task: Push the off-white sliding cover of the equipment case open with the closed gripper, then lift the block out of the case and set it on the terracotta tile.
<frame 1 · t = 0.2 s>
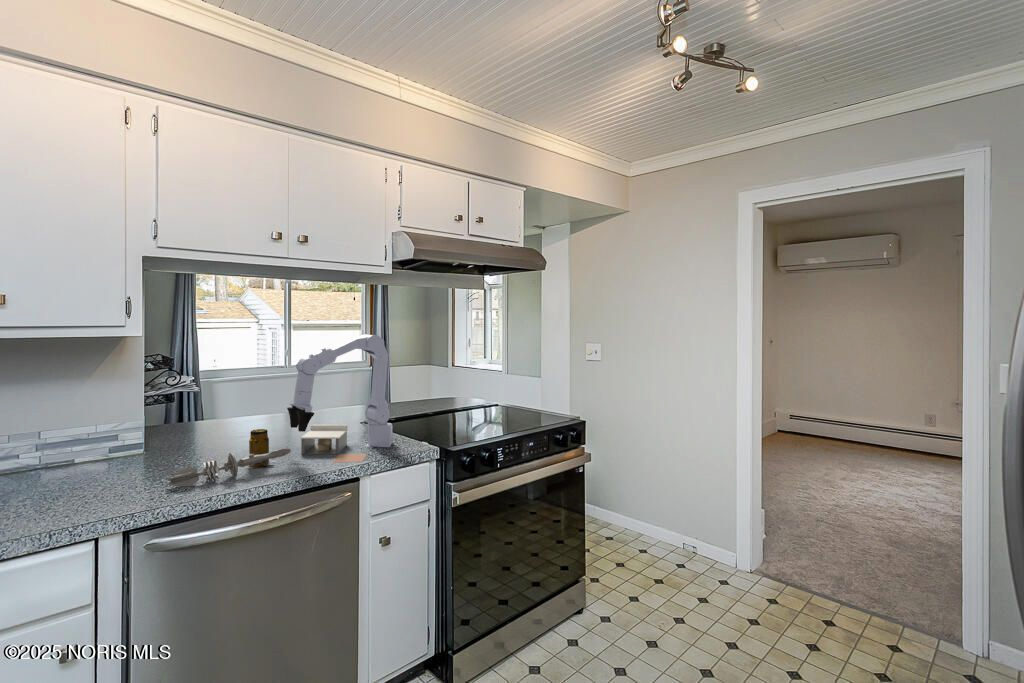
hand: (297, 429, 183), 11 cm above the worktop, fingers open, 7 cm apart
condiment: (262, 465, 175), on the worktop
case: (324, 450, 194), on the worktop
block: (324, 449, 194), point 1 cm above the worktop, touching case
cover: (324, 431, 194), point 7 cm above the worktop, slide at 0.0 cm
tile: (350, 459, 183), on the worktop
spaceship: (233, 478, 162), on the worktop
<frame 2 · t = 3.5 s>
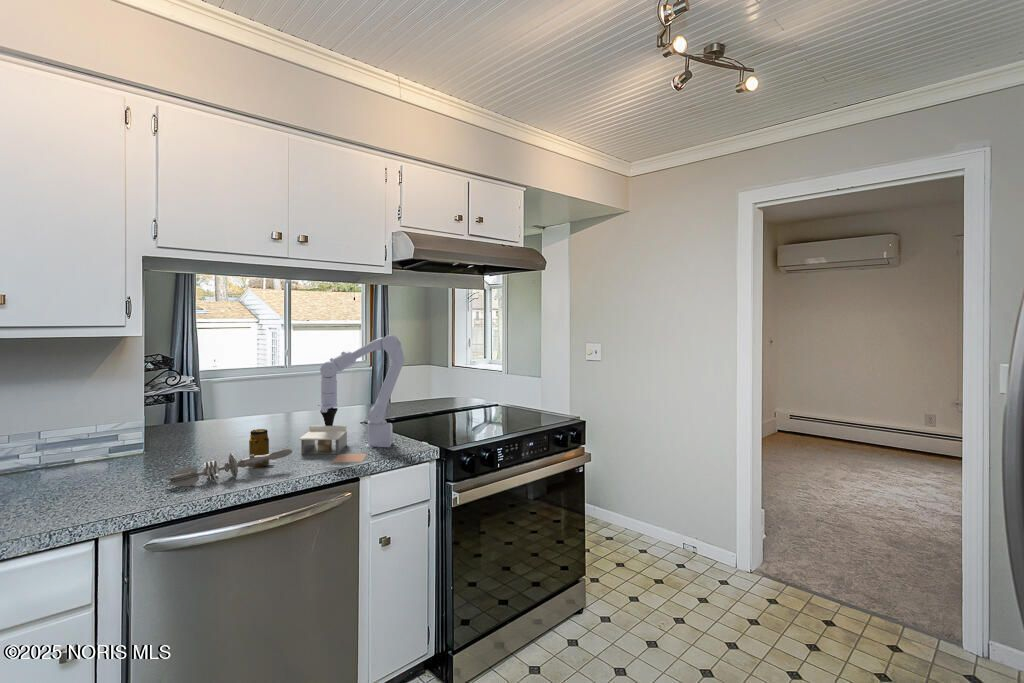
hand: (329, 427, 200), 8 cm above the worktop, fingers closed
cover: (323, 432, 192), point 7 cm above the worktop, slide at 1.6 cm, touching gripper
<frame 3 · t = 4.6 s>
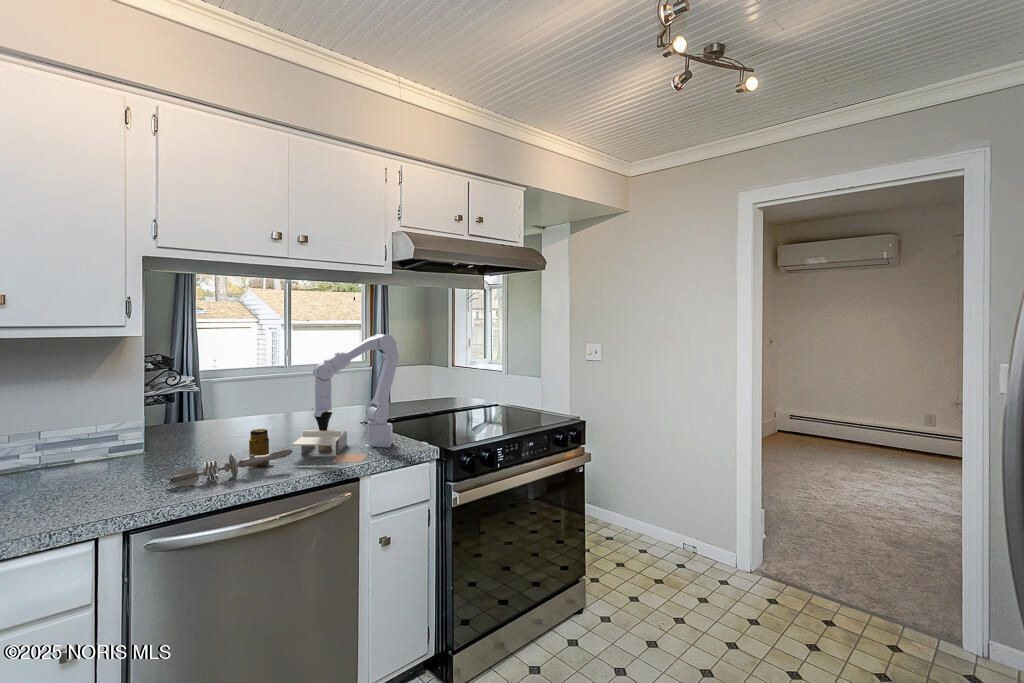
hand: (323, 432, 192), 8 cm above the worktop, fingers closed
cover: (317, 437, 184), point 7 cm above the worktop, slide at 9.6 cm, touching gripper
everything else where it was.
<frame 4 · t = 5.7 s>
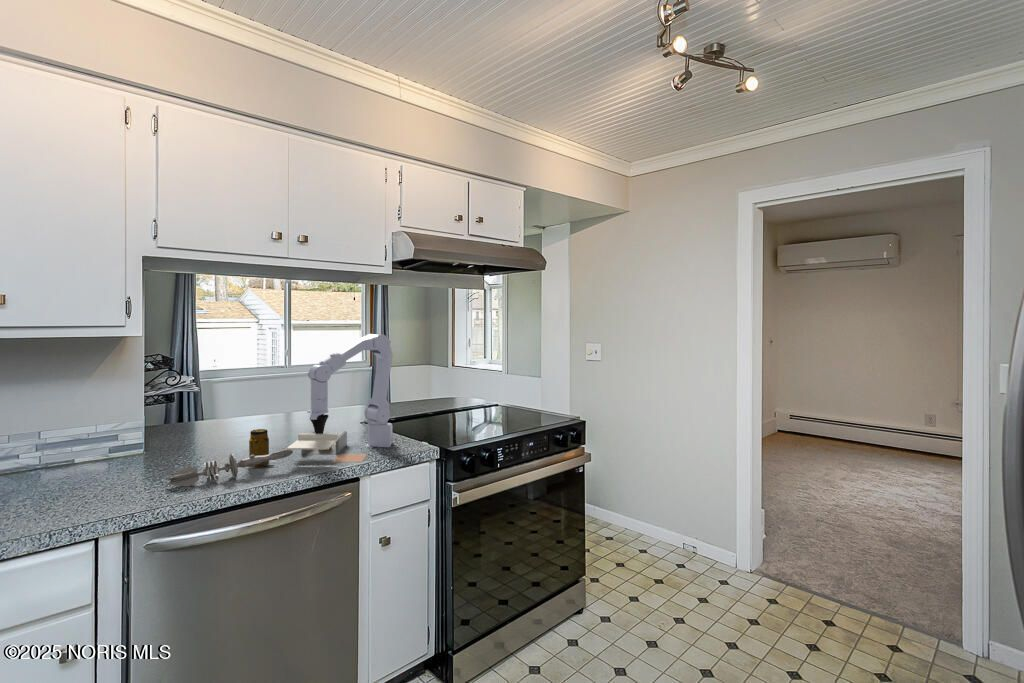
hand: (319, 435, 186), 8 cm above the worktop, fingers closed
cover: (313, 441, 179), point 7 cm above the worktop, slide at 14.7 cm, touching gripper
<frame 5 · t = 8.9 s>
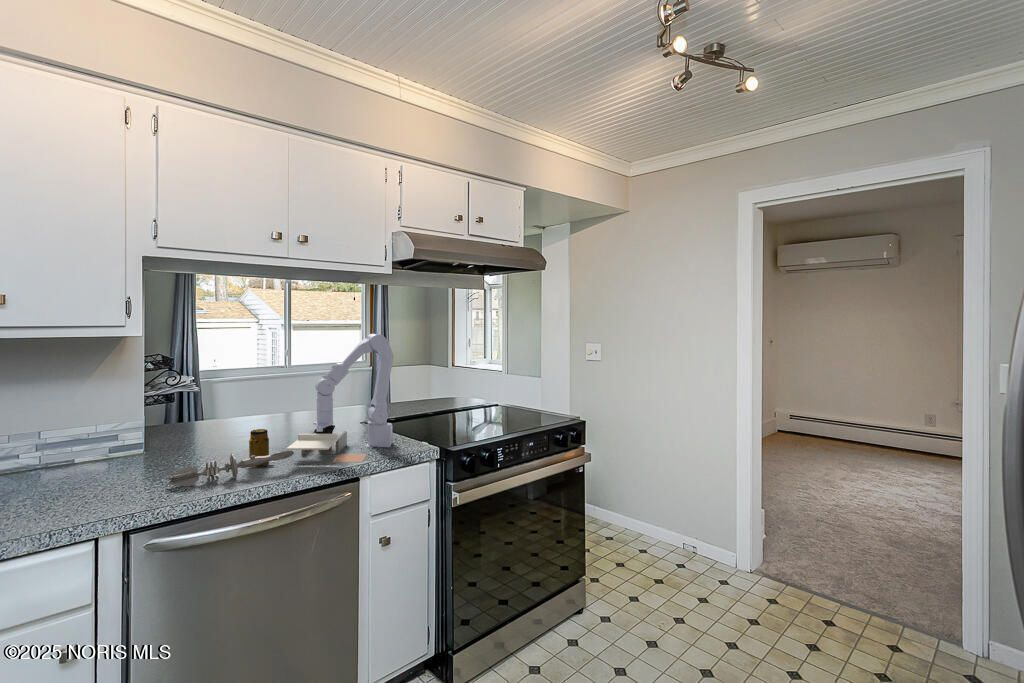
hand: (324, 446, 194), 2 cm above the worktop, fingers closed on block, 4 cm apart
block: (324, 449, 194), point 1 cm above the worktop, touching case, gripper
cover: (313, 441, 179), point 7 cm above the worktop, slide at 14.9 cm
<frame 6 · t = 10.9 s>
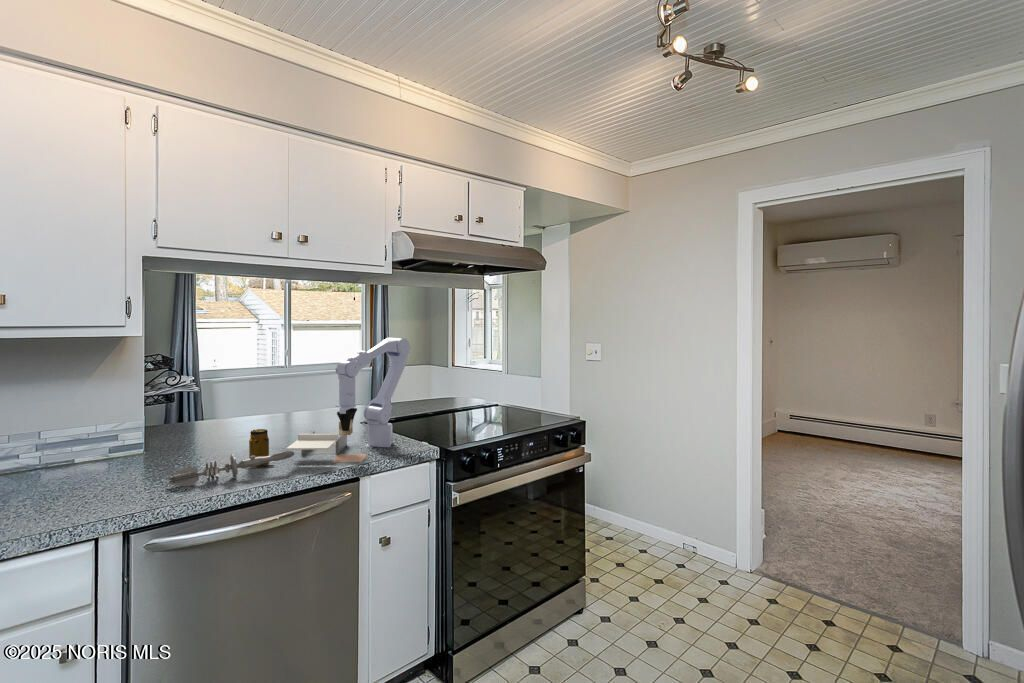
hand: (347, 429, 192), 9 cm above the worktop, fingers closed on block, 4 cm apart
block: (345, 433, 192), point 7 cm above the worktop, touching gripper
when the fingers open (3 cm above the worktop, at t = 13.0 s): block stays where it is, resting on tile.
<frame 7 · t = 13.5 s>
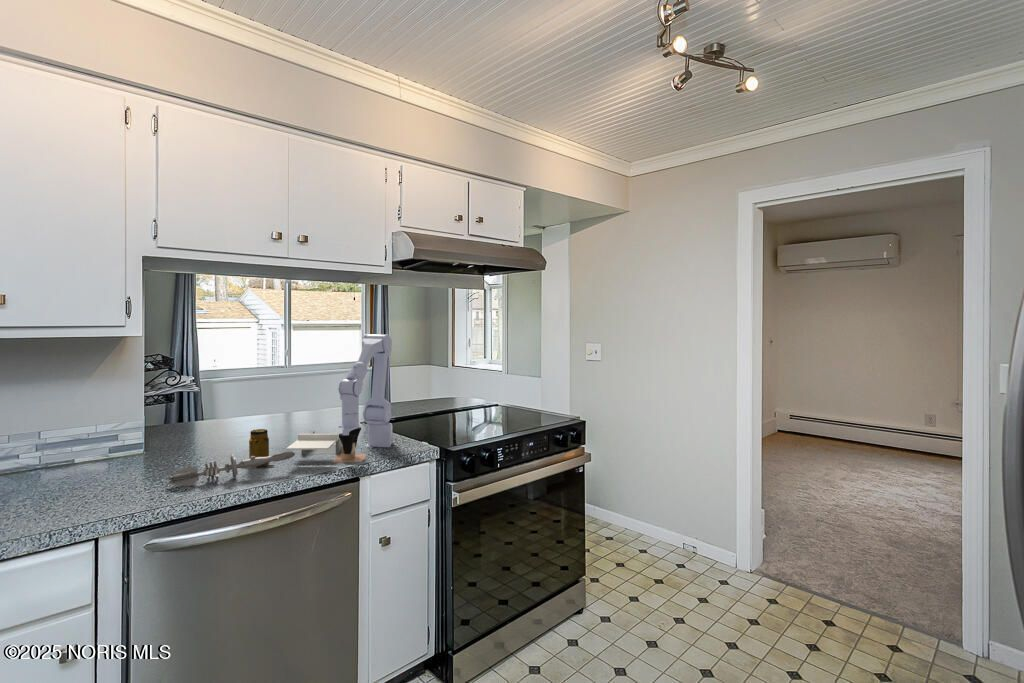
hand: (350, 450, 183), 3 cm above the worktop, fingers open, 7 cm apart
block: (348, 457, 183), point 1 cm above the worktop, touching tile
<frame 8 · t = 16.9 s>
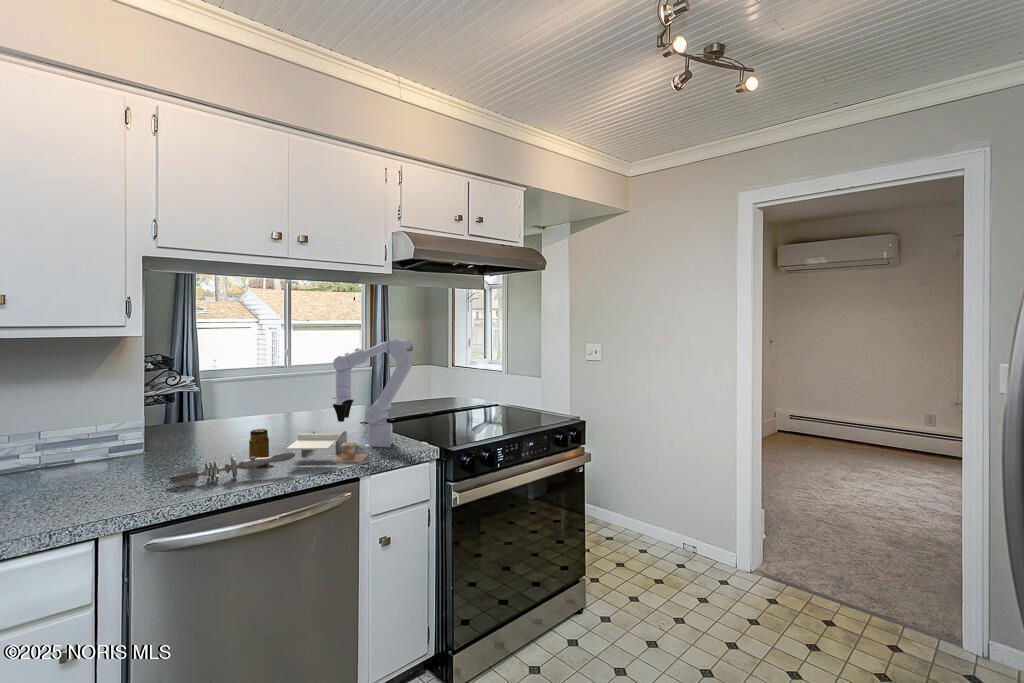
hand: (343, 419, 206), 9 cm above the worktop, fingers open, 7 cm apart
at the end: cover slide at 14.9 cm; block 0.7 cm off-centre on the tile, point 0.6 cm above the tile's base; block tilted 0° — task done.
